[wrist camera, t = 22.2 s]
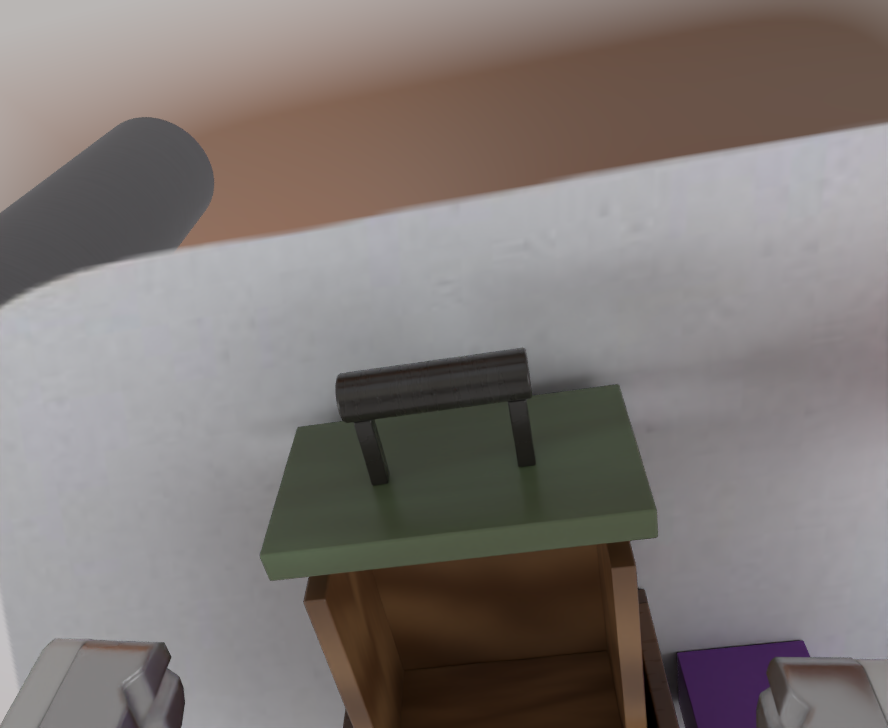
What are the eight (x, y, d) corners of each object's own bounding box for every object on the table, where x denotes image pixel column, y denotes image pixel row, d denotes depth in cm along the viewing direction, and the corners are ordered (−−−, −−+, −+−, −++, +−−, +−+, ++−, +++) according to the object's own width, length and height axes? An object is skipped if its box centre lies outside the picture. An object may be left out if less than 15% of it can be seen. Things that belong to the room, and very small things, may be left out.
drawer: (263, 331, 28) (213, 449, 23) (611, 279, 27) (651, 392, 21) (378, 663, 38) (363, 804, 32) (637, 637, 37) (669, 781, 31)
